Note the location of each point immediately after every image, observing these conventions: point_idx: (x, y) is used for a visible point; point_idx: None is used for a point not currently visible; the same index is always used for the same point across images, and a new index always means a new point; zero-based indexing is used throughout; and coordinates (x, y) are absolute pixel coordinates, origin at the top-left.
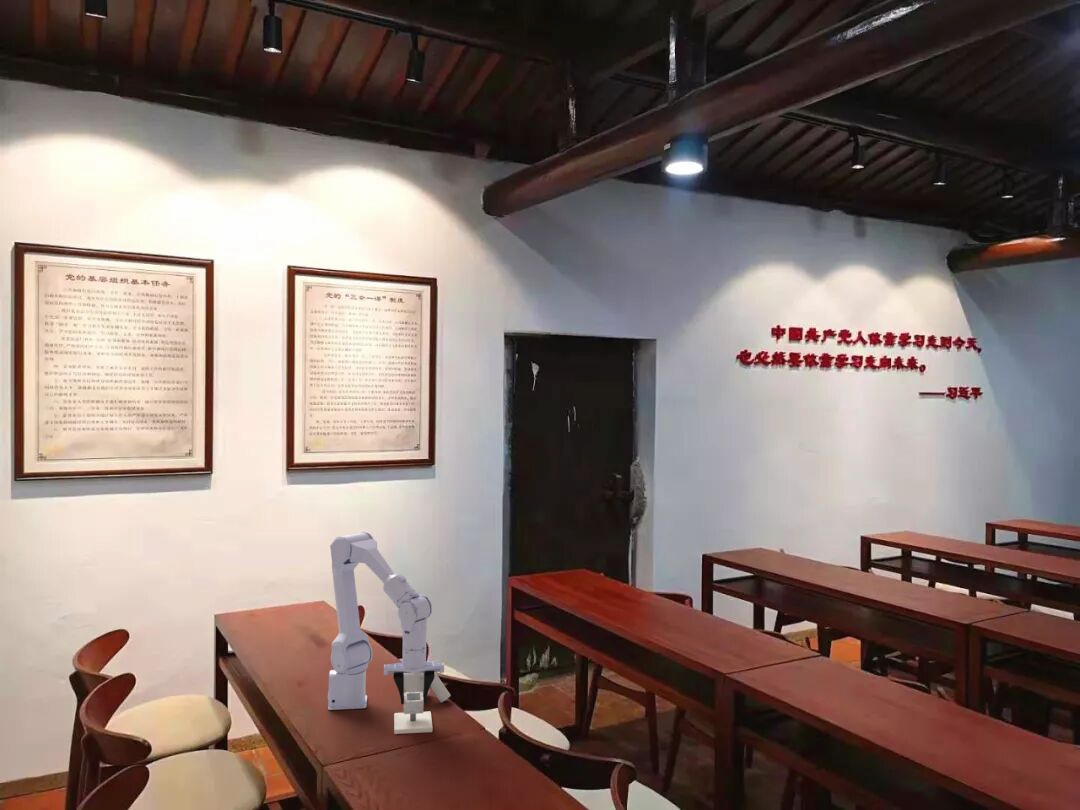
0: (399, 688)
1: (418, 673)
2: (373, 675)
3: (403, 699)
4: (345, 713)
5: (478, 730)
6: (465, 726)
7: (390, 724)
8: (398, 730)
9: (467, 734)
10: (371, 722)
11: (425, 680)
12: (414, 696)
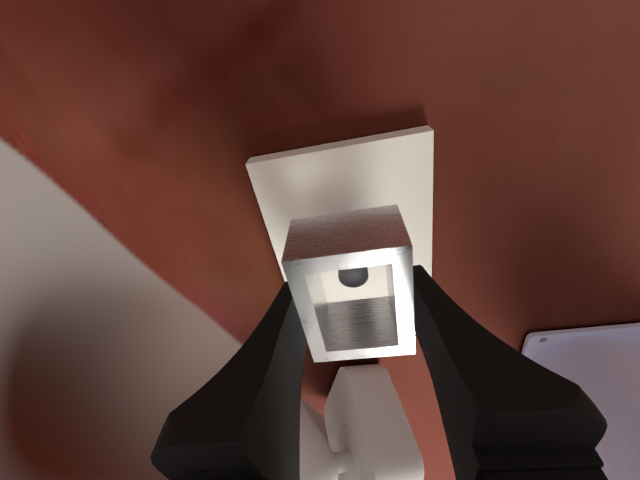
0: (478, 333)
1: (359, 475)
2: None
3: (417, 280)
4: (610, 301)
5: (60, 183)
6: (132, 216)
7: (443, 222)
8: (410, 132)
9: (84, 139)
10: (522, 237)
11: (243, 404)
12: (354, 333)
